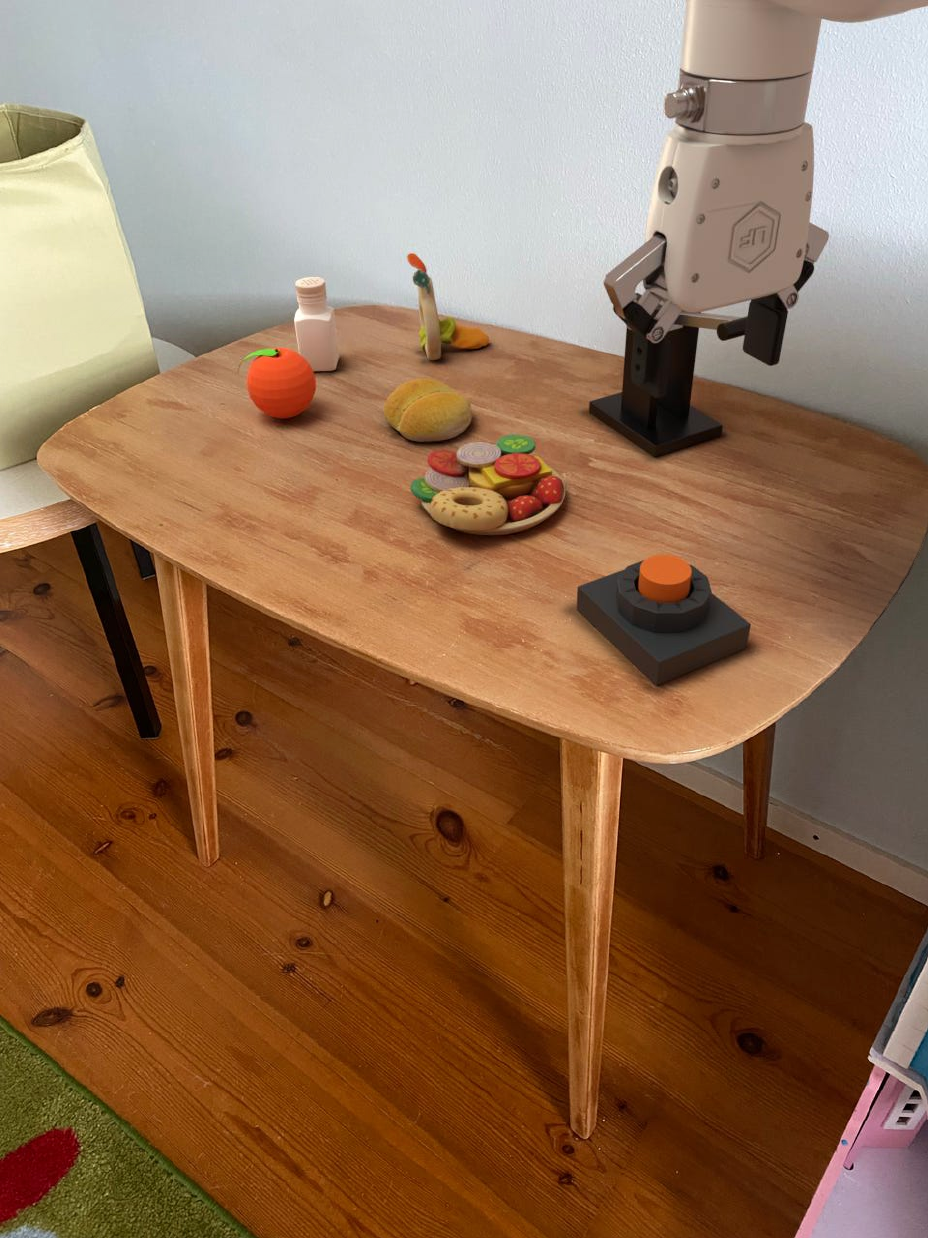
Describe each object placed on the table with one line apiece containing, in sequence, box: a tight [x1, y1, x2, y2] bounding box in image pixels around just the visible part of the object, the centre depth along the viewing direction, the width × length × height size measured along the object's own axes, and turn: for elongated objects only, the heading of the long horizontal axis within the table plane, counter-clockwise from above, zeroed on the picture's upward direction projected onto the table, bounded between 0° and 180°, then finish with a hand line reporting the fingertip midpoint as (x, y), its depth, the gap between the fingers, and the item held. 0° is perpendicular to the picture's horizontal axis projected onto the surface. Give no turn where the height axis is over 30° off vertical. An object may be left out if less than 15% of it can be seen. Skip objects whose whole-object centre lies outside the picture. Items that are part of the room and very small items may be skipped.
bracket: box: [588, 292, 724, 458], centre depth 94 cm, size 11×8×13 cm
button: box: [638, 554, 692, 603], centre depth 70 cm, size 4×4×2 cm
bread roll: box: [383, 377, 473, 443], centre depth 98 cm, size 8×9×4 cm
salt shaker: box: [293, 276, 340, 372], centre depth 108 cm, size 4×4×10 cm
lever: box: [659, 300, 748, 342], centre depth 86 cm, size 13×5×2 cm, turn 28°
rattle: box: [406, 252, 490, 361], centre depth 109 cm, size 8×8×12 cm
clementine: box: [237, 347, 317, 419], centre depth 100 cm, size 8×7×7 cm
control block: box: [576, 559, 752, 686], centre depth 71 cm, size 10×8×4 cm
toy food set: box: [409, 434, 566, 536], centre depth 86 cm, size 13×13×3 cm
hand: (705, 373), depth 69 cm, fingers open, 9 cm apart
